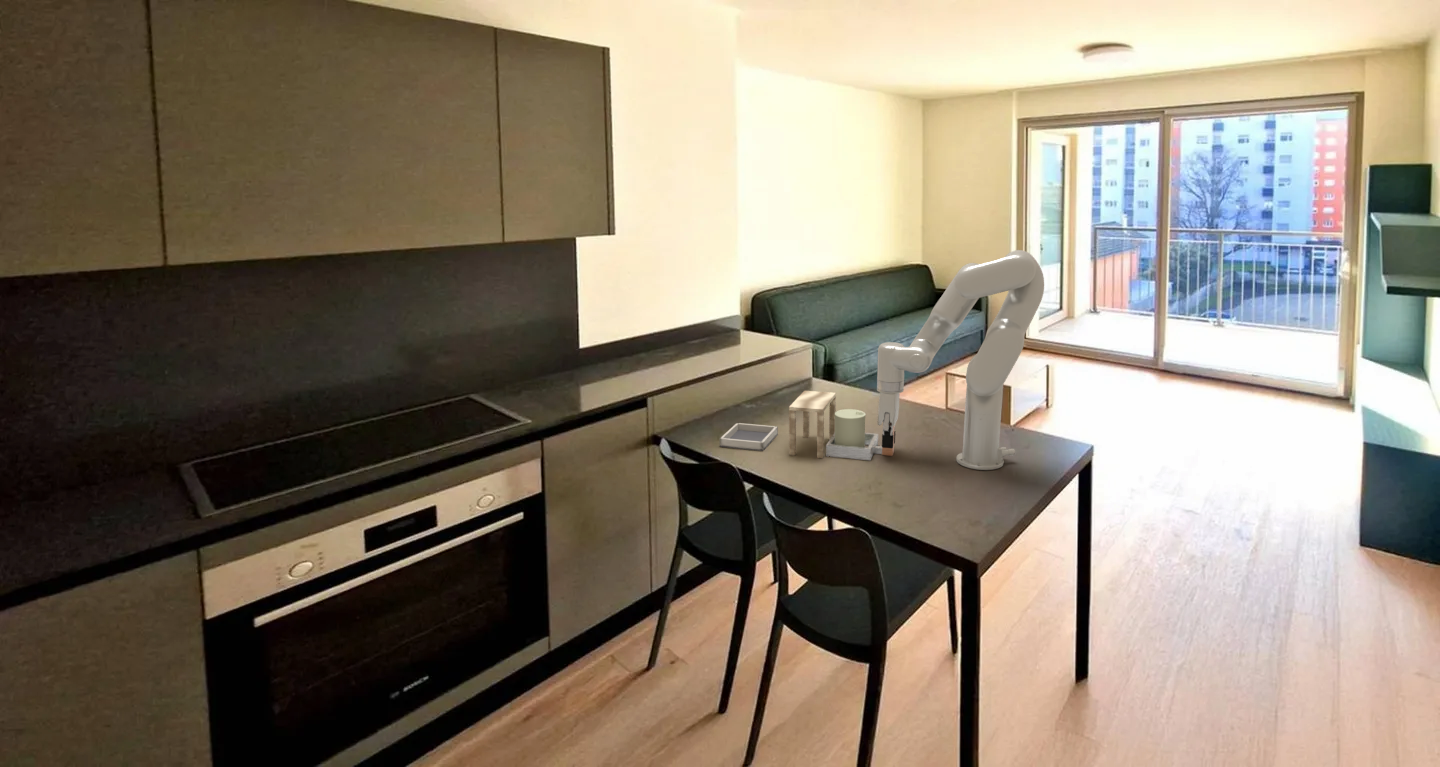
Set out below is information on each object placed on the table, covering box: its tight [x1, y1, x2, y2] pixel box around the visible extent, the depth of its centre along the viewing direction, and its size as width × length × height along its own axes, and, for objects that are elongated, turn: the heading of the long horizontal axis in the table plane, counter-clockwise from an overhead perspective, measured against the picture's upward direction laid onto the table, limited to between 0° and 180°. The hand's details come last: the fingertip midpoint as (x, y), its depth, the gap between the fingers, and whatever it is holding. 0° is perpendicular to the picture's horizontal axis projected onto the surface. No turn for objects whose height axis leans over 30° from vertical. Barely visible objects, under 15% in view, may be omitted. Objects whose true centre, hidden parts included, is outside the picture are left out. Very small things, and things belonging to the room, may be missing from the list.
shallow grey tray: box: [825, 423, 896, 461], centre depth 220 cm, size 18×14×10 cm
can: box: [835, 408, 867, 447], centre depth 221 cm, size 9×9×12 cm
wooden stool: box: [788, 390, 837, 459], centre depth 225 cm, size 10×18×15 cm, turn 159°
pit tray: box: [719, 422, 779, 452], centre depth 234 cm, size 14×16×3 cm
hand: (888, 445), depth 218 cm, fingers closed on shallow grey tray, 3 cm apart
